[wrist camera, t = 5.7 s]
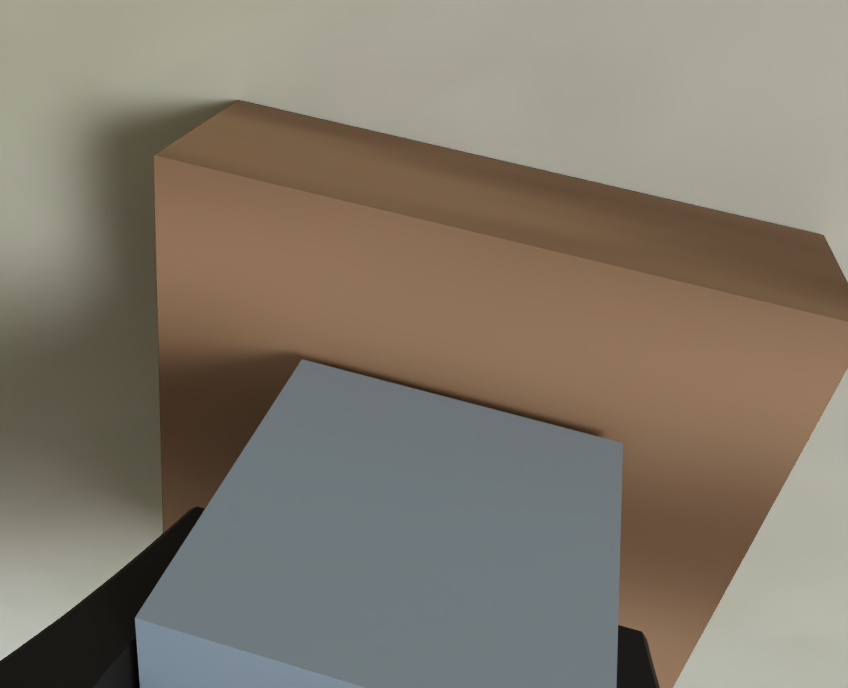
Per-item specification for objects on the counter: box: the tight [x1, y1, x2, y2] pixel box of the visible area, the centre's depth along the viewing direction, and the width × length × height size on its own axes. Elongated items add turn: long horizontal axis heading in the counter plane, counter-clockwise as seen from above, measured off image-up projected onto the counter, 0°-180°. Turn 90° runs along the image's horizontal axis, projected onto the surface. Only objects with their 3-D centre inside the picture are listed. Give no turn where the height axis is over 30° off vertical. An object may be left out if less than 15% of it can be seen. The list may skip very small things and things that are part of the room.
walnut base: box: [154, 100, 848, 688], centre depth 15 cm, size 10×10×3 cm
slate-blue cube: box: [135, 359, 623, 688], centre depth 12 cm, size 5×5×5 cm
